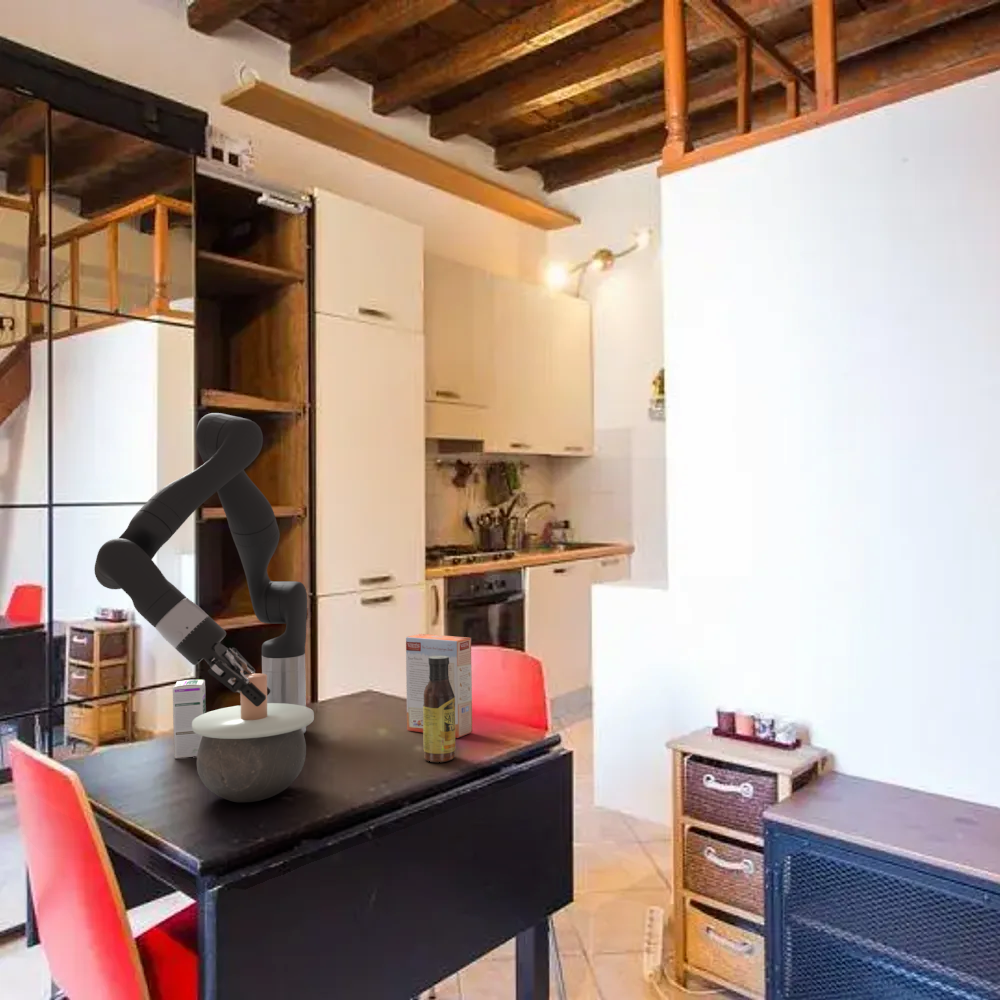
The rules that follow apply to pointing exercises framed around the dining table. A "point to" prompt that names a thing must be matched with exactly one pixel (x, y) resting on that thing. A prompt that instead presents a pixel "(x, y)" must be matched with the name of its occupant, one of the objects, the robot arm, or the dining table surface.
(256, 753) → the bowl
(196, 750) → the syrup box
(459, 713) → the cracker box
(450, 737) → the sauce bottle
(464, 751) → the dining table surface
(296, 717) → the lid
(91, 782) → the dining table surface
